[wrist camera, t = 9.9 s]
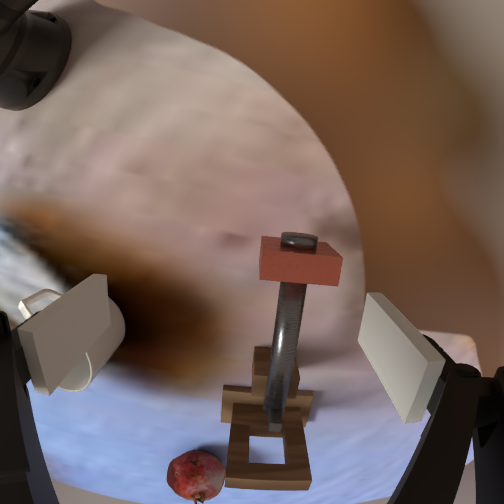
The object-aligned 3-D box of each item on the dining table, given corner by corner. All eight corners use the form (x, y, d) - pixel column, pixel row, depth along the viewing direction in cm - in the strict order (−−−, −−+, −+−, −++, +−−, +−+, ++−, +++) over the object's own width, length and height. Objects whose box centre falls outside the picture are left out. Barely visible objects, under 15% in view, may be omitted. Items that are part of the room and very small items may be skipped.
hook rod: (262, 226, 31) (264, 238, 25) (327, 233, 31) (345, 246, 25) (245, 392, 35) (242, 429, 29) (299, 395, 35) (305, 432, 29)
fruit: (165, 462, 45) (152, 505, 35) (183, 433, 43) (170, 480, 33) (213, 480, 45) (207, 524, 36) (237, 453, 44) (233, 501, 34)
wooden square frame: (223, 385, 40) (211, 464, 26) (312, 391, 41) (330, 469, 26) (221, 416, 42) (210, 494, 28) (304, 422, 42) (317, 498, 28)
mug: (141, 319, 39) (106, 364, 28) (108, 358, 40) (73, 404, 29) (74, 256, 37) (22, 281, 26) (48, 301, 39) (0, 332, 28)
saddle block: (254, 346, 39) (253, 375, 33) (294, 349, 39) (300, 377, 33) (252, 366, 40) (251, 396, 33) (290, 369, 40) (295, 398, 34)
